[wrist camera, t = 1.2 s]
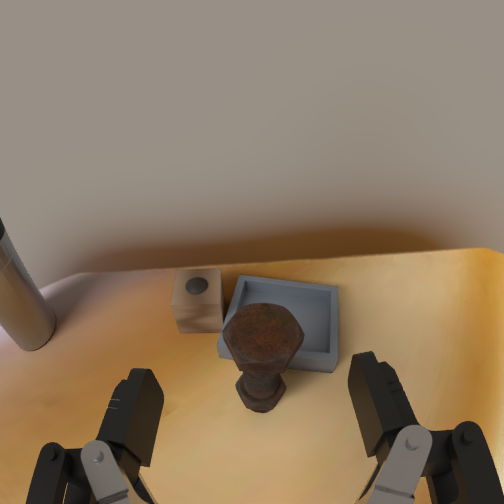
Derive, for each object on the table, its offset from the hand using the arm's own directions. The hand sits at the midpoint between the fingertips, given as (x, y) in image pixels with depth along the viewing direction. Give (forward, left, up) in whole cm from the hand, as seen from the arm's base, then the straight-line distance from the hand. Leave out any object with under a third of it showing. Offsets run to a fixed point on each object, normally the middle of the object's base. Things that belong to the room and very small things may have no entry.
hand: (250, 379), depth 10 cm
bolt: (0, +6, -21) cm, 22 cm away
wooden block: (-10, +17, -21) cm, 29 cm away
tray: (+1, +17, -21) cm, 27 cm away
